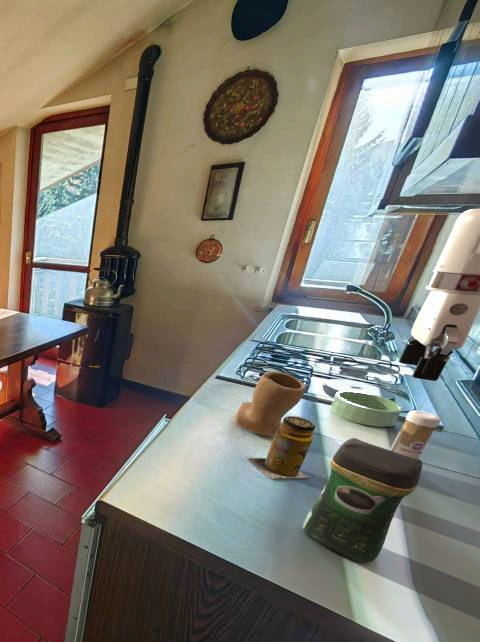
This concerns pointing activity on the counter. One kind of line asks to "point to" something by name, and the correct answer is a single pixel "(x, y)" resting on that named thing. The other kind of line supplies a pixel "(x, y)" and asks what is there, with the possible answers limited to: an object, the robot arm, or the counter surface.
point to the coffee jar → (361, 499)
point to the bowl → (365, 408)
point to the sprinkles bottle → (415, 433)
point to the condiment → (287, 449)
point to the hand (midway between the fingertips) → (416, 371)
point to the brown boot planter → (270, 403)
